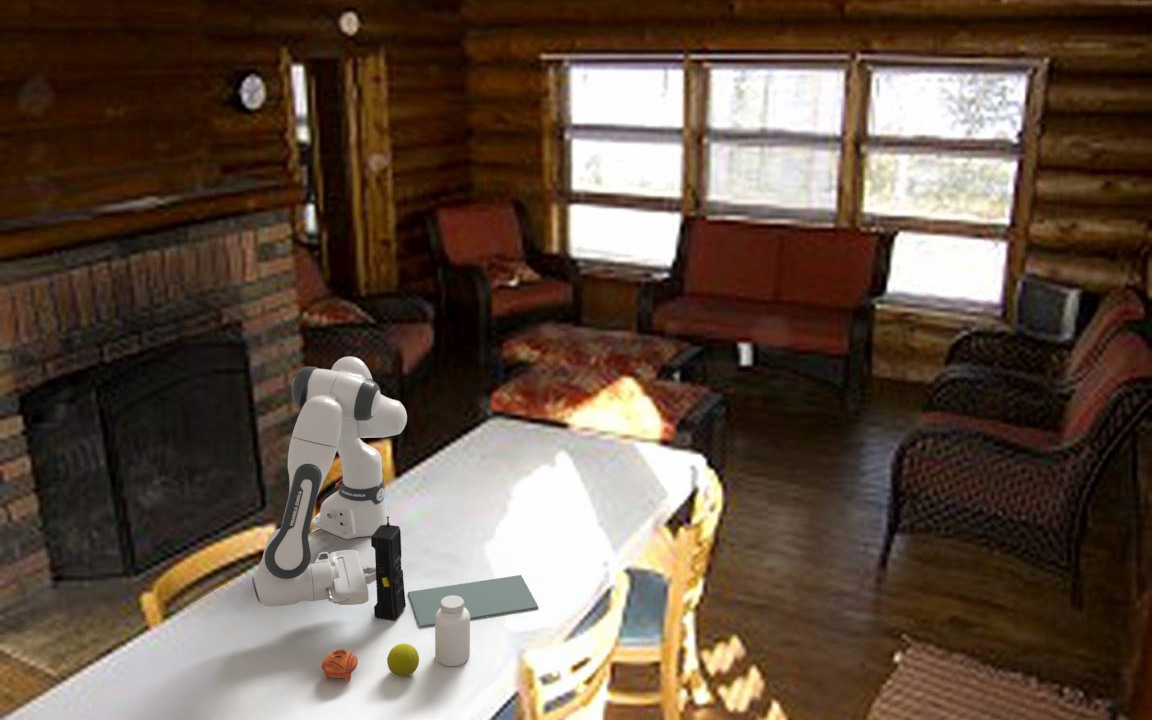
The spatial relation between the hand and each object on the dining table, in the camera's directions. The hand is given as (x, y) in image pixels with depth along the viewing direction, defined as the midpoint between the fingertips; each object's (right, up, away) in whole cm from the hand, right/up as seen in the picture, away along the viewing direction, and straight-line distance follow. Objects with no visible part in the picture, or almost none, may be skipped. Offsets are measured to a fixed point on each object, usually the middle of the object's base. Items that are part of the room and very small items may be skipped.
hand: (382, 572), depth 248 cm
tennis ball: (+8, -19, -18) cm, 28 cm away
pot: (-6, -19, -20) cm, 28 cm away
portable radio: (+1, -11, +4) cm, 12 cm away
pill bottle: (+19, -17, -12) cm, 28 cm away
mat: (+21, -9, +11) cm, 25 cm away
